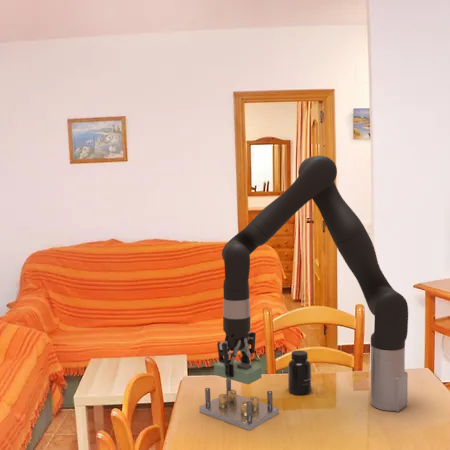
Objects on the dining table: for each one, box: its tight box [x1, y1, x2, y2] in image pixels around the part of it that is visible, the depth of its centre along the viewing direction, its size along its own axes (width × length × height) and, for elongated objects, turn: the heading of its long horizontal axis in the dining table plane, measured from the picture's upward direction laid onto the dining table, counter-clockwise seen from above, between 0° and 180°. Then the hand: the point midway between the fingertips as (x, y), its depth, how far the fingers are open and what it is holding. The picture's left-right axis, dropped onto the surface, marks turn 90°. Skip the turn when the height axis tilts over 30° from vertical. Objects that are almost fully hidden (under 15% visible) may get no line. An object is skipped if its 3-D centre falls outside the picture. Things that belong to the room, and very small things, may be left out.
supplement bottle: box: [287, 350, 312, 396], centre depth 167 cm, size 7×7×12 cm
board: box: [213, 358, 262, 385], centre depth 153 cm, size 12×6×4 cm, turn 50°
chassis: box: [198, 378, 280, 431], centre depth 154 cm, size 18×13×6 cm
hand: (237, 373), depth 153 cm, fingers closed on board, 6 cm apart
